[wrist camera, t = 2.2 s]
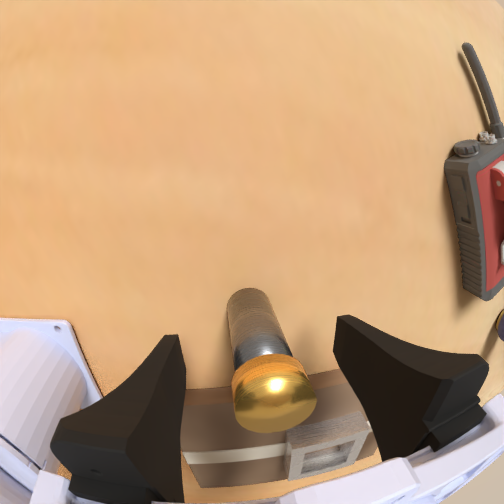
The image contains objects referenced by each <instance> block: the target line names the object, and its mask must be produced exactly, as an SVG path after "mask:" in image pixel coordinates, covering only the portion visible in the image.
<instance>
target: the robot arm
mask: <svg viewBox="0 0 504 504" xmlns="http://www.w3.org/2000/svg"><path fill="white" fill-rule="evenodd" d="M57 326H58V327H60V329H59V328H58V327H57ZM333 353H334V355H335V358H336V360H337V363H338V365H339V367H340V369H341V371H342V373H343V374H344V376H345V378H346V379H347V381H348V383H349V384H350V386H351V388H352V389H353V391H354V393H355V394H356V396H357V398H358V399H359V401H360V403H361V405H362V407H363V409H364V411H365V414H366V416H367V418H368V421H369V423H370V426H371V428H372V431H373V434H374V436H375V439H376V442H377V445H378V448H379V451H380V455H381V459H382V462H381V463H379V464H376V465H374V466H371V467H368V468H365V469H363V470H360V471H357V472H354V473H351V474H348V475H344V476H341V477H338V478H334V479H331V480H327V481H323V482H320V483H315V484H311V485H308V486H305V487H302V488H298V489H295V490H293V491H291V492H289V493H286V494H284V495H282V496H280V497H274V498H267V499H259V500H251V501H241V502H227V503H185V502H184V493H183V484H182V471H181V444H180V434H181V423H182V415H183V407H184V399H185V392H186V367H185V363H184V358H183V354H182V350H181V345H180V341H179V336H178V334H177V335H164V337H163V338H162V339H161V340H160V342H159V343H158V344H157V345H156V347H155V348H154V349H153V351H152V352H151V353H150V354H149V356H148V357H147V358H146V359H145V360H144V362H143V363H142V364H141V365H140V366H139V367H138V368H137V369H136V370H135V371H134V373H133V374H132V375H131V376H130V377H129V378H127V379H126V380H125V381H124V382H123V383H122V384H121V385H119V386H118V387H117V388H116V389H114V390H113V391H112V392H110V393H109V394H107V395H106V396H105V397H102V395H101V393H100V391H99V389H98V387H97V385H96V383H95V381H94V379H93V376H92V374H91V372H90V370H89V368H88V366H87V363H86V361H85V359H84V356H83V354H82V352H81V349H80V347H79V344H78V342H77V339H76V337H75V334H74V331H73V329H72V326H71V324H70V323H69V322H68V321H66V320H53V319H17V318H0V504H438V503H440V502H441V501H443V500H444V499H446V498H447V497H449V496H450V495H452V494H453V493H455V492H456V491H457V490H459V489H460V488H461V487H462V486H464V485H465V484H467V483H468V482H469V481H471V480H472V479H473V478H474V477H476V476H477V475H478V474H479V473H481V472H482V471H483V470H484V469H485V468H486V467H488V466H489V465H490V464H491V463H492V462H493V461H495V460H496V459H497V458H498V457H499V456H500V455H501V454H502V453H503V452H504V397H503V396H502V395H501V394H500V393H499V394H497V395H496V396H494V397H493V398H492V399H490V400H489V401H488V402H486V403H485V404H484V405H483V407H481V406H480V405H479V404H478V403H479V402H480V398H479V397H478V396H477V394H478V392H479V390H480V389H481V387H482V385H483V383H484V381H485V379H486V377H487V375H488V371H489V364H488V363H487V362H486V361H485V360H484V359H483V358H482V357H480V356H479V355H478V354H457V353H449V352H442V351H436V350H432V349H428V348H424V347H420V346H417V345H414V344H411V343H408V342H405V341H403V340H400V339H398V338H396V337H393V336H391V335H389V334H387V333H385V332H383V331H381V330H379V329H377V328H375V327H373V326H371V325H369V324H367V323H365V322H363V321H362V320H360V319H358V318H356V317H354V316H351V315H343V316H337V322H336V331H335V339H334V346H333ZM80 409H82V410H80ZM79 410H80V411H79ZM60 463H62V464H63V465H64V466H65V467H66V468H67V469H68V470H69V471H70V472H71V473H72V477H71V481H70V480H69V479H67V478H65V477H63V476H60V475H57V472H58V469H59V466H60Z"/></svg>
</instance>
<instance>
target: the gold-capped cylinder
mask: <svg viewBox="0 0 504 504" xmlns="http://www.w3.org/2000/svg"><path fill="white" fill-rule="evenodd" d="M227 313H228V322H229V330H230V338H231V346H232V353H233V361H234V368H235V374H234V375H233V378H232V383H231V385H232V394H233V402H234V410H235V417H236V420H237V422H238V423H239V424H240V425H241V426H242V427H244V428H245V429H247V430H250V431H253V432H258V433H274V432H280V431H284V430H287V429H290V428H292V427H294V426H296V425H298V424H300V423H301V422H303V421H304V420H305V419H307V418H308V417H309V416H310V415H311V413H312V412H313V410H314V409H315V406H316V402H317V399H316V395H315V392H314V390H313V388H312V386H311V384H310V381H309V379H308V377H307V375H306V372H305V370H304V368H303V366H302V364H301V363H300V362H299V361H298V360H297V359H295V358H293V356H292V353H291V351H290V349H289V346H288V344H287V342H286V339H285V337H284V334H283V332H282V330H281V327H280V325H279V323H278V320H277V318H276V315H275V313H274V311H273V308H272V306H271V303H270V301H269V299H268V297H267V295H266V294H265V293H264V292H262V291H260V290H258V289H255V288H245V289H241V290H239V291H237V292H236V293H234V294H233V295H232V296H231V298H230V299H229V301H228V304H227Z"/></svg>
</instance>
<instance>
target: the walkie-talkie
mask: <svg viewBox="0 0 504 504" xmlns="http://www.w3.org/2000/svg"><path fill="white" fill-rule="evenodd" d="M462 49H463V51H464V54H465V56H466V58H467V60H468V62H469V65H470V67H471V69H472V72H473V74H474V76H475V79H476V81H477V84H478V87H479V89H480V92H481V95H482V98H483V100H484V103H485V106H486V110H487V113H488V116H489V119H490V128H491V132H492V134H489V135H488V132H485V131H484V132H480V133H479V135H480V138H479V141H477V140H464V141H460V142H457V143H456V144H455V145H454V147H453V148H454V152H455V153H456V154H455V155H454V156H452V157H450V158H449V159H447V160H445V163H444V171H445V174H446V178H447V183H448V187H449V191H450V196H451V200H452V205H453V210H454V216H455V221H456V225H457V231H458V238H459V244H460V248H459V249H460V251H461V254H460V256H461V262H462V265H461V267H462V273H463V276H462V278H463V282H462V283H463V288H464V289H466V290H468V291H469V292H471V293H472V294H474V295H476V296H477V297H479V298H480V299H482V300H484V301H489V300H491V299H492V298H493V297H494V296H495V295H496V294H497V293H498V292H499V291H500V290H501V289H502V288H503V286H504V126H503V123H502V122H501V121H500V117H499V114H498V110H497V107H496V104H495V101H494V98H493V95H492V92H491V89H490V86H489V84H488V81H487V78H486V76H485V73H484V71H483V68H482V66H481V64H480V61H479V59H478V57H477V55H476V53H475V50H474V48H473V46H472V45H471V44H469V43H463V45H462Z"/></svg>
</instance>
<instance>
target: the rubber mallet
mask: <svg viewBox="0 0 504 504" xmlns="http://www.w3.org/2000/svg"><path fill="white" fill-rule="evenodd" d="M496 329H497V330H498V335H499V337H500V339H501V340H503V341H504V310H503V311H502V313H501V314H500V316H499V318H498V320H497V323H496Z"/></svg>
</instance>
